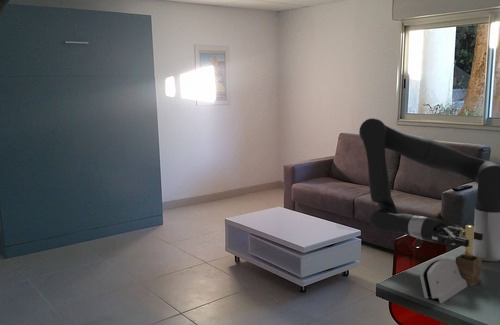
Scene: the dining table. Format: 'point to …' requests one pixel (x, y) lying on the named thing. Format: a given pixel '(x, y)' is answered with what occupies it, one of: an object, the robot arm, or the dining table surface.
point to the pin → (470, 236)
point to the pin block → (469, 269)
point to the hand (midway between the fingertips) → (475, 240)
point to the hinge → (441, 280)
